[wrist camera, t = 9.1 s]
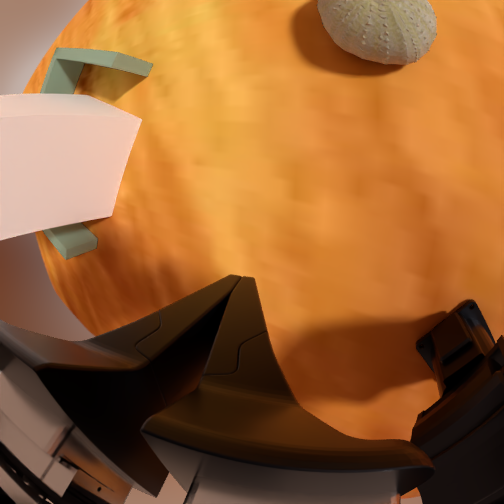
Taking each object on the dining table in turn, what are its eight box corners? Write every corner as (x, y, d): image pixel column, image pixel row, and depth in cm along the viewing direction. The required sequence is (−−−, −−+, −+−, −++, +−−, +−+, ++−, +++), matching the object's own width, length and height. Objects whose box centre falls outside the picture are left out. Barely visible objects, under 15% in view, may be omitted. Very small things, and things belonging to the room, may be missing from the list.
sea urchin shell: (309, 59, 15) (299, -41, 8) (327, 33, 18) (322, -39, 11) (437, 88, 12) (453, -12, 5) (423, 55, 15) (431, -18, 8)
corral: (153, 64, 21) (-22, 30, 4) (92, 275, 33) (-22, 331, 16) (84, 52, 24) (-32, 42, 7) (43, 219, 35) (-49, 249, 18)
